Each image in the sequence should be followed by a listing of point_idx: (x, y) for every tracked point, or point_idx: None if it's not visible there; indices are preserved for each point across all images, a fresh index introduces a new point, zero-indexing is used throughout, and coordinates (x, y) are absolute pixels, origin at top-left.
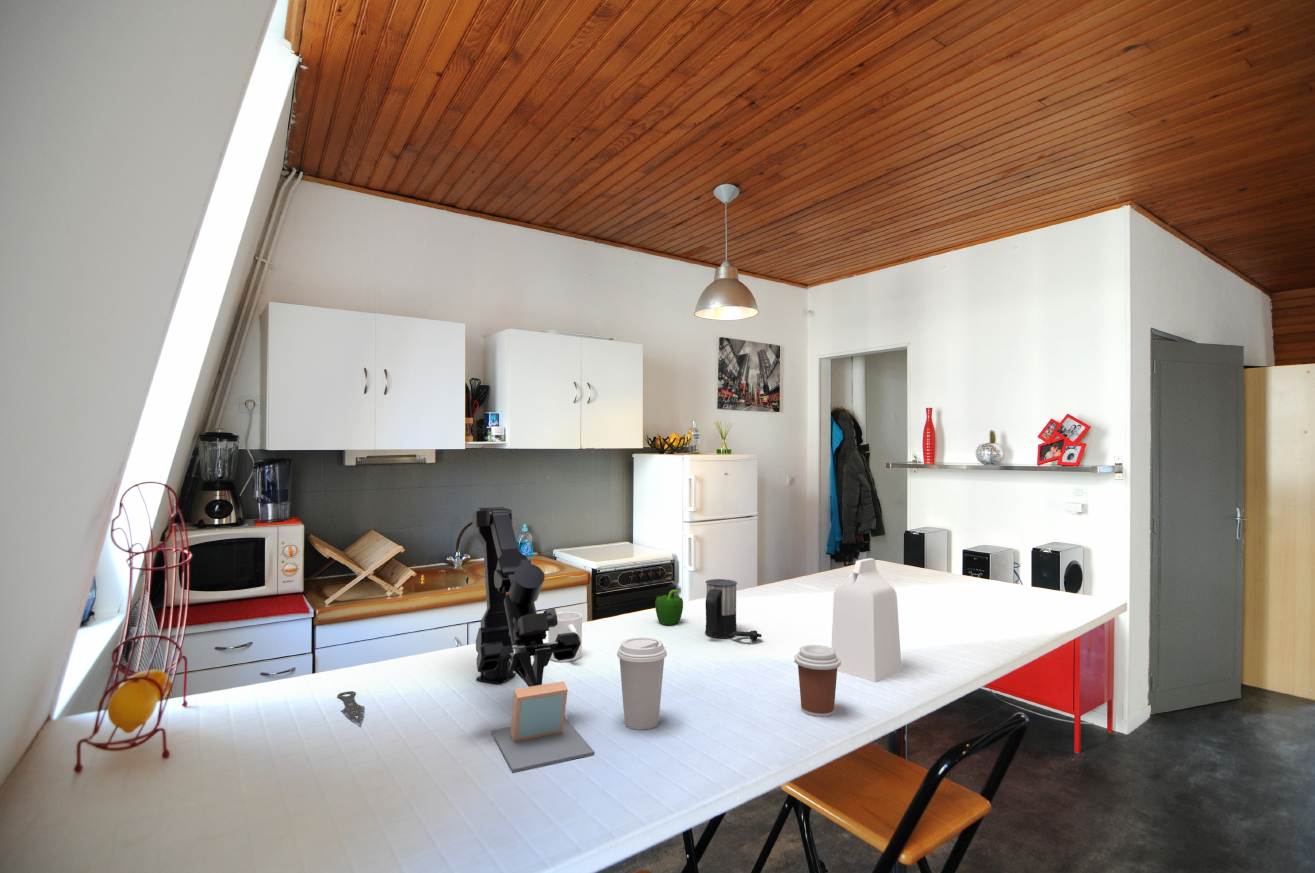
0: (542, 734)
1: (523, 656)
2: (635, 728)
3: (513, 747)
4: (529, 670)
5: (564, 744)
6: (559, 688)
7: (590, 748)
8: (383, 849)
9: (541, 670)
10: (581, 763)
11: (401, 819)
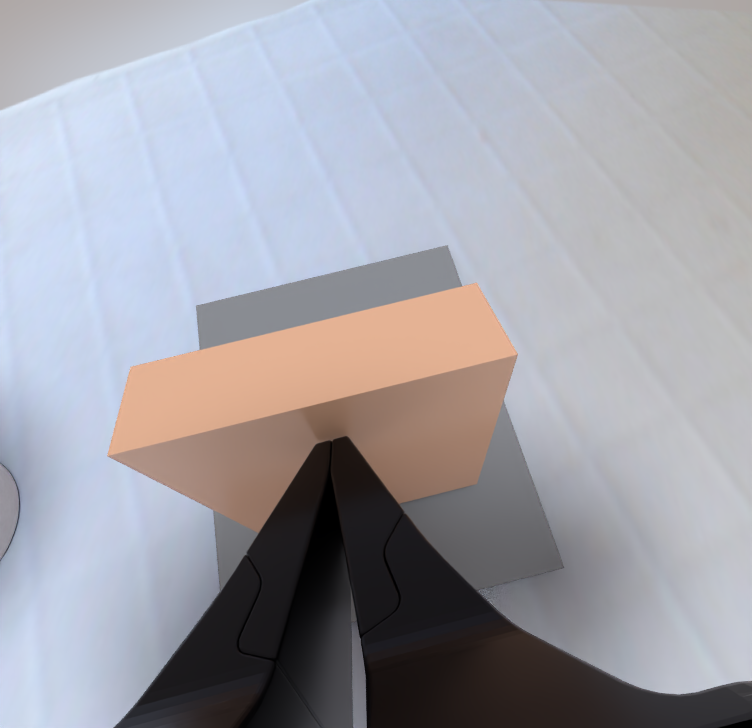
0: None
1: (551, 701)
2: (1, 465)
3: None
4: (396, 552)
5: None
6: (180, 375)
7: (202, 328)
8: (672, 32)
9: (249, 580)
10: (250, 268)
11: (681, 105)
